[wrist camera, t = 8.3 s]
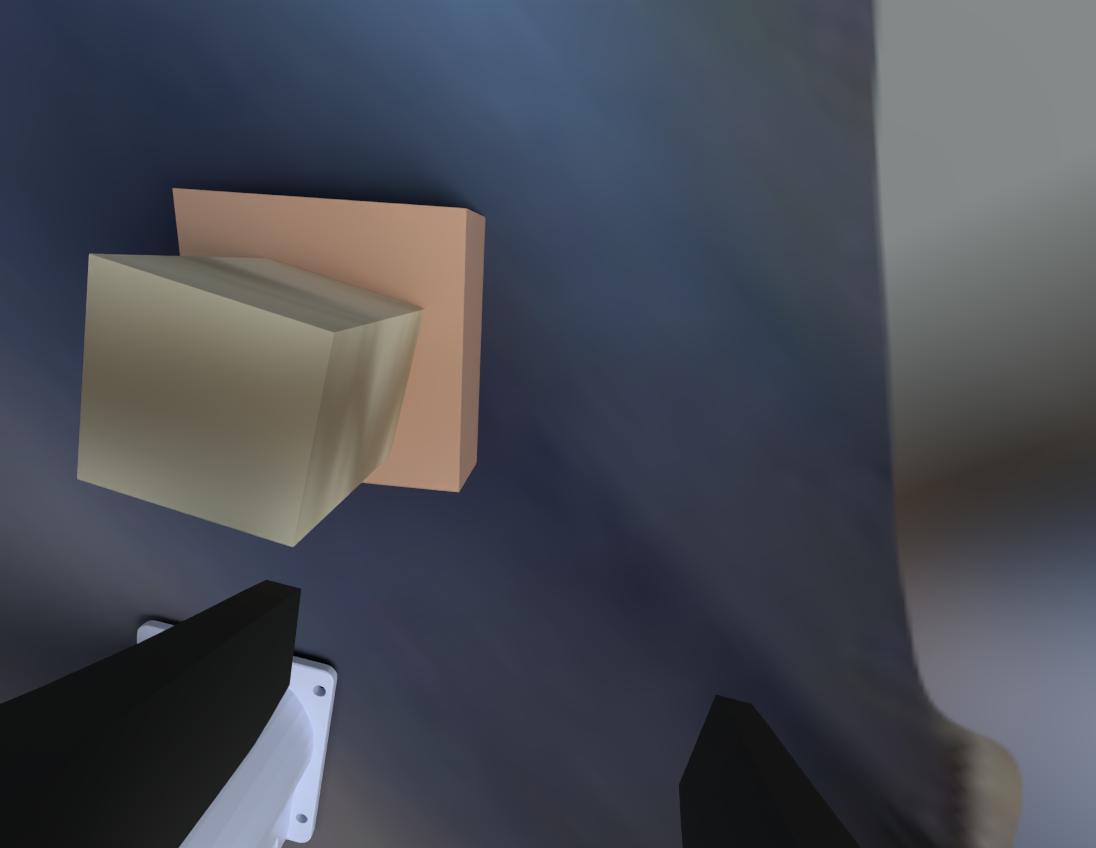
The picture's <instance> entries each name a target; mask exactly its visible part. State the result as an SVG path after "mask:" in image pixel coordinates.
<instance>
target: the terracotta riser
mask: <svg viewBox="0 0 1096 848" xmlns="http://www.w3.org/2000/svg"><path fill="white" fill-rule="evenodd" d="M172 189H173V198H174V206H175V215H176V224H177V232H178V241H179V250H180V256H198V257H236V258H268V259H271V260H274V261H277V262H280V263H284V264H287V265H290V266H293V267H296V268H299V269H302V270H305V271H308V272H311V273H314V274H318V275H321V276H324V277H327V278H330V279H333V280H336V281H339V282H342V283H345V284H348V285H352V286H355V287H358V288H361V289H364V290H367V291H370V292H373V293H376V294H379V295H382V296H385V297H389V298H392V299H395V300H398V301H401V302H404V303H407V304H410V305H413V306H416V307H419V308H423V309H425V311H424V315H423V319H422V323H421V327H420V332H419V336H418V340H417V344H416V348H415V353H414V357H413V361H412V365H411V369H410V373H409V378H408V382H407V386H406V390H405V394H404V399H403V403H402V407H401V411H400V415H399V420H398V424H397V428H396V432H395V436H394V441H393V445H392V449H391V453H390V456H389V457H388V458H387V459H386V460H385V461H384V462H383V463H382V464H381V465H379V466H378V467H377V468H376V469H375V470H374V471H373V472H372V473H371V474H370V475H369V476H368V477H367V478H366V479H365V480H364V481H363V482H361V483H371V484H381V485H391V486H402V487H412V488H422V489H432V490H442V491H452V492H459V491H460V490H461V488H462V486H463V485H464V483H465V481H466V479H467V478H468V476H469V474H470V473H471V471H472V469H473V468H474V466H475V464H476V462H477V434H478V406H479V378H480V350H481V321H482V293H483V265H484V237H485V217H484V216H481V215H479V214H477V213H475V212H473V211H471V210H469V209H467V208H453V207H439V206H424V205H410V204H395V203H381V202H367V201H352V200H338V199H323V198H309V197H294V196H280V195H265V194H251V193H236V192H222V191H207V190H193V189H178V188H172Z"/></svg>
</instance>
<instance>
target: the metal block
mask: <svg viewBox="0 0 1096 848" xmlns="http://www.w3.org/2000/svg"><path fill="white" fill-rule="evenodd" d="M424 311H425V309H423V308H419V307H416V306H413V305H410V304H407V303H404V302H401V301H398V300H395V299H392V298H389V297H385V296H382V295H379V294H376V293H373V292H370V291H367V290H364V289H361V288H358V287H355V286H352V285H348V284H345V283H342V282H339V281H336V280H333V279H330V278H327V277H324V276H321V275H318V274H314V273H311V272H308V271H305V270H302V269H299V268H296V267H293V266H290V265H287V264H284V263H280V262H277V261H274V260H271V259H268V258H236V257H198V256H159V255H121V254H89V264H88V283H87V302H86V321H85V340H84V359H83V378H82V396H81V415H80V434H79V453H78V472H77V479H79V480H82V481H85V482H88V483H91V484H95V485H98V486H101V487H104V488H107V489H110V490H114V491H117V492H120V493H123V494H126V495H129V496H133V497H136V498H139V499H142V500H145V501H148V502H152V503H155V504H158V505H161V506H164V507H167V508H171V509H174V510H177V511H180V512H183V513H186V514H190V515H193V516H196V517H199V518H202V519H205V520H209V521H212V522H215V523H218V524H221V525H224V526H228V527H231V528H234V529H237V530H240V531H243V532H247V533H250V534H253V535H256V536H259V537H262V538H266V539H269V540H272V541H275V542H278V543H281V544H285V545H288V546H291V547H294V546H295V545H296V544H297V543H298V542H299V541H300V540H301V539H302V538H303V537H304V536H305V535H306V534H307V533H308V532H310V531H311V530H312V529H313V528H314V527H315V526H316V525H317V524H318V523H319V522H320V521H321V520H322V519H323V518H324V517H325V516H327V515H328V514H329V513H330V512H331V511H332V510H333V509H334V508H335V507H336V506H337V505H338V504H339V503H340V502H341V501H342V500H343V499H345V498H346V497H347V496H348V495H349V494H350V493H351V492H352V491H353V490H354V489H355V488H356V487H357V486H358V485H359V484H360V483H361V482H363V481H364V480H365V479H366V478H367V477H368V476H369V475H370V474H371V473H372V472H373V471H374V470H375V469H376V468H377V467H378V466H379V465H381V464H382V463H383V462H384V461H385V460H386V459H387V458H388V457H389V456H390V453H391V449H392V445H393V441H394V436H395V432H396V428H397V424H398V420H399V415H400V411H401V407H402V403H403V399H404V394H405V390H406V386H407V382H408V378H409V373H410V369H411V365H412V361H413V357H414V353H415V348H416V344H417V340H418V336H419V332H420V327H421V323H422V319H423V315H424Z"/></svg>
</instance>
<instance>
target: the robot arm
mask: <svg viewBox="0 0 1096 848" xmlns="http://www.w3.org/2000/svg"><path fill="white" fill-rule="evenodd" d="M300 594H301V589H300V588H296V587H292V586H288V585H285V584H281V583H277V582H273V581H269V580H265V581H263V582H261V583H259V584H257V585H254V586H252V587H250V588H248V589H246V590H244V591H242V592H240V593H238V594H236V595H234V596H232V597H230V598H228V599H226V600H224V601H222V602H220V603H218V604H216V605H215V606H213V607H211V608H209V609H207V610H205V611H203V612H201V613H199V614H197V615H195V616H193V617H191V618H189V619H187V620H185V621H183V622H181V623H179V624H177V625H171V624H167V623H163V622H159V621H154V620H150V621H147V622H145V623H144V624H143V625H142V626H141V627H140V628H139V629H138V631H137V644H136V645H134V646H132V647H129V648H127V649H125V650H123V651H121V652H118V653H116V654H114V655H112V656H110V657H107V658H105V659H103V660H101V661H98V662H96V663H94V664H92V665H89V666H87V667H85V668H83V669H81V670H78V671H76V672H74V673H72V674H69V675H67V676H65V677H63V678H60V679H58V680H56V681H54V682H52V683H49V684H47V685H45V686H43V687H40V688H38V689H36V690H33V691H31V692H28V693H26V694H24V695H21V696H19V697H16V698H14V699H11V700H9V701H7V702H4V703H2V704H0V848H281V847H282V845H283V843H284V841H285V839H288V840H292V841H295V842H301V843H303V842H307V841H308V840H310V838H311V836H312V834H313V832H314V829H315V823H316V816H317V809H318V803H319V796H320V789H321V783H322V776H323V769H324V763H325V756H326V749H327V742H328V736H329V729H330V722H331V716H332V709H333V702H334V696H335V689H336V682H337V673H336V671H335V670H334V669H333V668H332V667H331V666H329V665H326V664H323V663H319V662H315V661H311V660H307V659H303V658H299V657H295V656H293V653H294V645H295V636H296V628H297V619H298V611H299V602H300ZM320 686H322V687H324V689H323V688H321V687H320ZM679 795H680V814H681V830H682V843H683V848H861V847H860V846H859V845H858V843H857V842H856V841H855V840H854V838H853V837H852V836H851V834H850V833H849V832H848V831H847V829H846V828H845V827H844V825H843V824H842V823H841V821H840V820H839V819H838V818H837V816H836V815H835V814H834V812H833V811H832V810H831V808H830V807H829V806H828V805H827V803H826V802H825V801H824V799H823V798H822V797H821V795H820V794H819V793H818V791H817V790H816V789H815V787H814V786H813V785H812V783H811V782H810V781H809V779H808V778H807V777H806V775H805V774H804V773H803V771H802V770H801V768H800V767H799V766H798V764H797V763H796V762H795V760H794V759H793V758H792V756H791V755H790V754H789V752H788V751H787V750H786V748H785V747H784V746H783V744H782V743H781V742H780V740H779V739H778V738H777V736H776V735H775V734H774V732H773V731H772V730H771V728H770V727H769V726H768V724H767V723H766V722H765V720H764V719H763V718H762V716H761V715H760V714H759V713H758V711H757V710H756V709H755V708H754V706H753V705H752V704H750V703H746V702H742V701H738V700H735V699H731V698H727V697H723V696H719V695H716V696H715V698H714V701H713V703H712V706H711V708H710V711H709V713H708V715H707V718H706V720H705V723H704V725H703V728H702V730H701V732H700V735H699V737H698V740H697V742H696V745H695V747H694V750H693V752H692V754H691V757H690V759H689V762H688V764H687V767H686V769H685V771H684V774H683V776H682V779H681V781H680V784H679Z"/></svg>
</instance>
